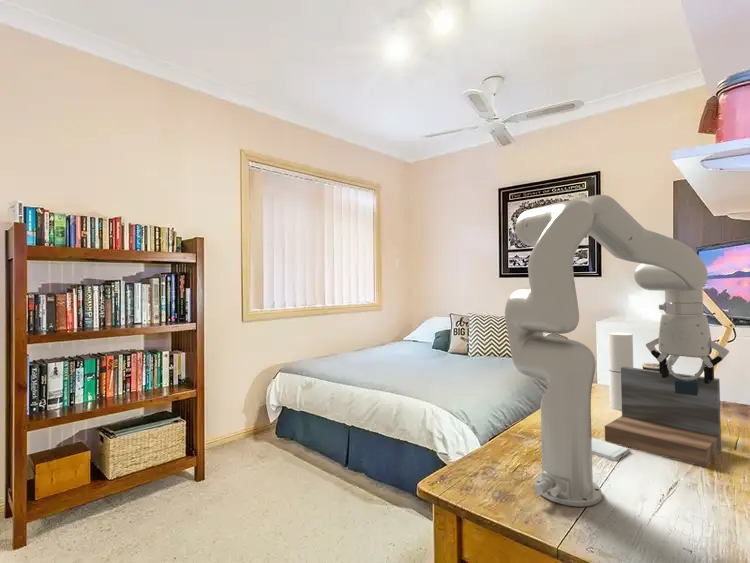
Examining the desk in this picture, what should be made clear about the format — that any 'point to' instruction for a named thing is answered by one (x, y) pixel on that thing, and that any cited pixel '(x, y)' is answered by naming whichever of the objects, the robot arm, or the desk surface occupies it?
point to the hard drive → (608, 450)
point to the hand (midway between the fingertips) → (686, 379)
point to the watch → (685, 379)
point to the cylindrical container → (618, 364)
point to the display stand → (667, 417)
